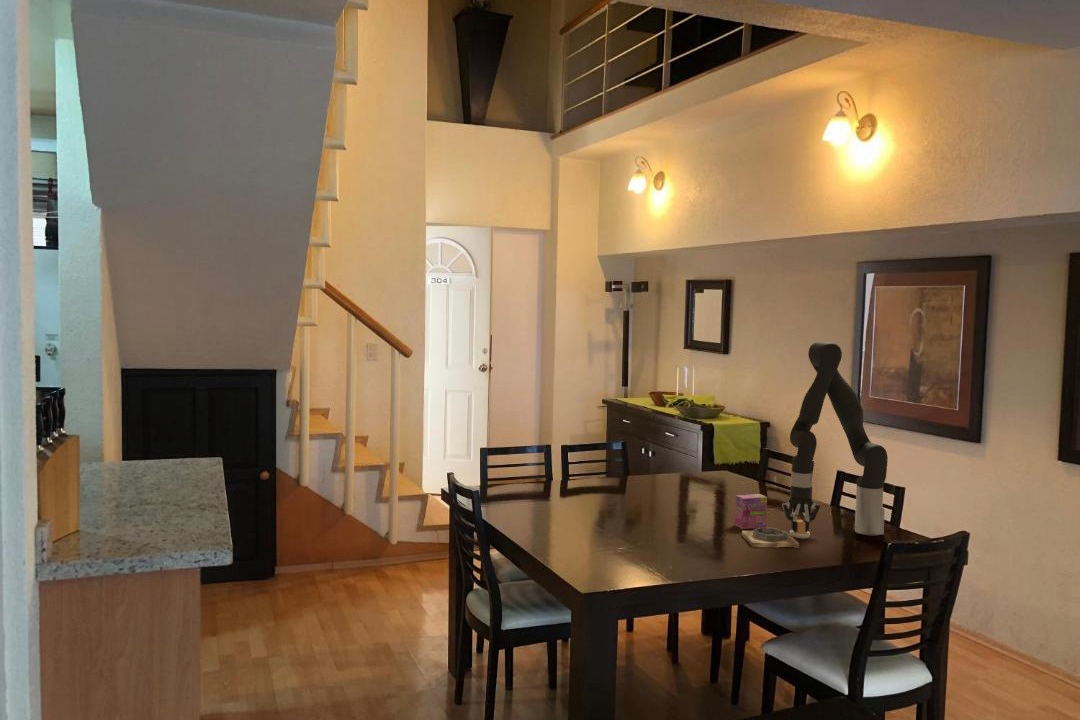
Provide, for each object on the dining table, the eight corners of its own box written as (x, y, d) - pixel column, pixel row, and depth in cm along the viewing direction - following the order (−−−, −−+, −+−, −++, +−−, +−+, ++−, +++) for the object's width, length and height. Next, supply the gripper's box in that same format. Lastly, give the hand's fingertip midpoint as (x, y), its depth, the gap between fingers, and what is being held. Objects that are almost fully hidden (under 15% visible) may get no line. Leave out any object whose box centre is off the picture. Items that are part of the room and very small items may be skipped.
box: (741, 529, 320) (742, 498, 319) (734, 525, 326) (735, 494, 325) (766, 527, 323) (767, 496, 322) (758, 524, 328) (759, 493, 328)
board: (785, 535, 312) (786, 531, 312) (798, 547, 296) (799, 543, 296) (741, 534, 312) (741, 530, 312) (752, 547, 296) (752, 542, 296)
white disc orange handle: (806, 533, 316) (806, 518, 315) (812, 538, 309) (812, 523, 308) (787, 533, 316) (787, 518, 315) (792, 538, 309) (793, 523, 308)
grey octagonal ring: (780, 533, 310) (781, 527, 309) (789, 541, 299) (789, 535, 299) (750, 532, 310) (750, 527, 309) (758, 540, 299) (758, 535, 299)
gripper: (817, 482, 315) (816, 529, 316) (779, 482, 315) (777, 528, 316) (824, 486, 307) (822, 534, 308) (784, 486, 307) (783, 533, 308)
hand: (799, 531), depth 312 cm, fingers open, 3 cm apart
